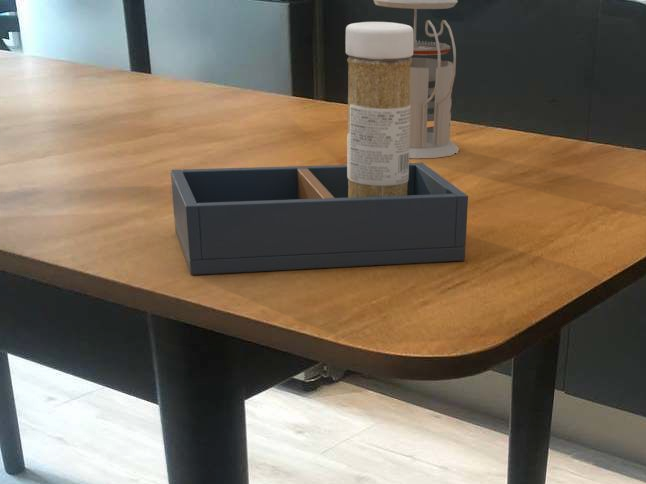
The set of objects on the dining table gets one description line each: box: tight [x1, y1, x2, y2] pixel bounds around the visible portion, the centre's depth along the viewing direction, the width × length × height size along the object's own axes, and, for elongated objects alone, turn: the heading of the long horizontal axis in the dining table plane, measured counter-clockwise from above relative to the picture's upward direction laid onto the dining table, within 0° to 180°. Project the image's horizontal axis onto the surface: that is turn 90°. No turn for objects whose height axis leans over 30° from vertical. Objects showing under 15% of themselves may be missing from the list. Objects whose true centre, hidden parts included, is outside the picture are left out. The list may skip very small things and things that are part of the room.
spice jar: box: [345, 21, 414, 198], centre depth 76 cm, size 5×5×14 cm
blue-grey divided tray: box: [170, 162, 469, 276], centre depth 77 cm, size 19×11×4 cm, turn 106°
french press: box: [373, 0, 460, 159], centre depth 104 cm, size 10×12×25 cm
